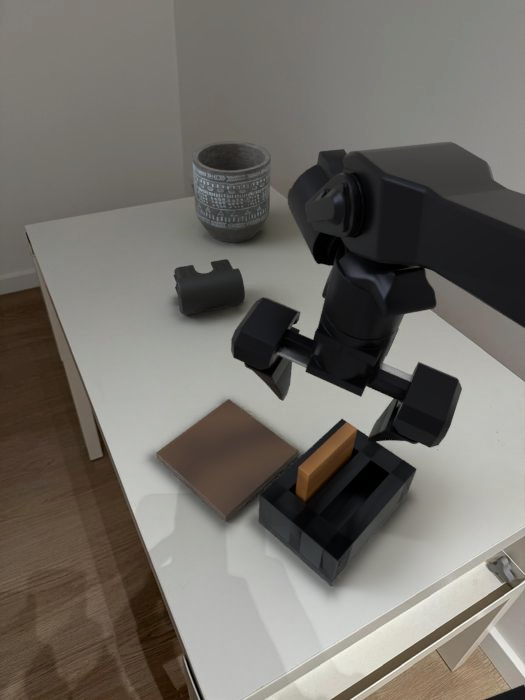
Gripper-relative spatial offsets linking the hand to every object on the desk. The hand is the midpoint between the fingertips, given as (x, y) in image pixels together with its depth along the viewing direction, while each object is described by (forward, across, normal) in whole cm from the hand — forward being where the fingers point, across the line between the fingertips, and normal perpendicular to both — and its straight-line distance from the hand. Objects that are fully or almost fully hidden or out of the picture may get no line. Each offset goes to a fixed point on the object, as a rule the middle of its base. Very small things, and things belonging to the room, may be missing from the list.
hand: (326, 416), depth 50 cm
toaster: (+13, -4, +3) cm, 14 cm away
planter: (+24, +34, -45) cm, 62 cm away
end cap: (+20, +26, -22) cm, 40 cm away
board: (+14, +9, +2) cm, 17 cm away
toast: (+12, -2, +2) cm, 12 cm away
